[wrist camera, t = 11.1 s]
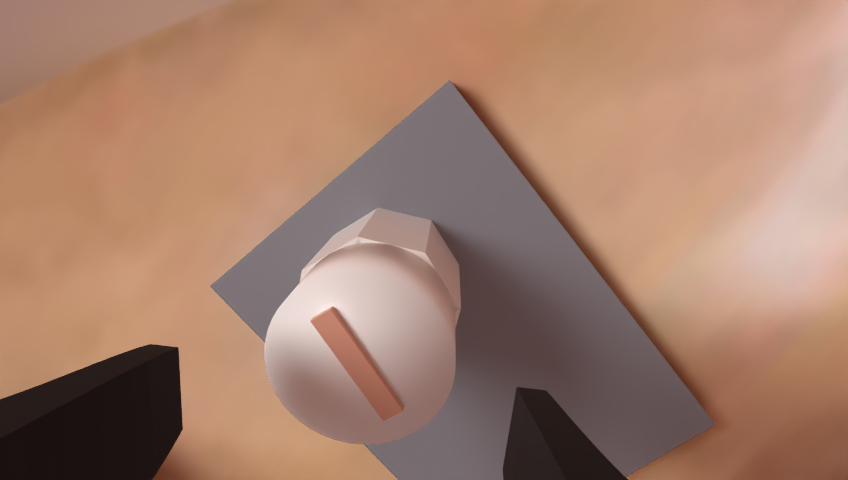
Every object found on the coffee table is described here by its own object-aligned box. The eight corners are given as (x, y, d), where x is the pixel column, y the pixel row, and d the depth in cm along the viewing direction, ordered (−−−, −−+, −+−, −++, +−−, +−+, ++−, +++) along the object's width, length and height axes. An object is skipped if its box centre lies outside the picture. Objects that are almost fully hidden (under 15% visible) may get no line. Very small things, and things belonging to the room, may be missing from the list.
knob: (410, 187, 17) (385, 237, 11) (478, 294, 18) (492, 398, 12) (303, 252, 18) (222, 334, 12) (373, 351, 19) (333, 477, 13)
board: (703, 409, 20) (715, 424, 19) (476, 541, 23) (477, 561, 22) (449, 81, 17) (450, 80, 16) (221, 277, 20) (210, 286, 19)
